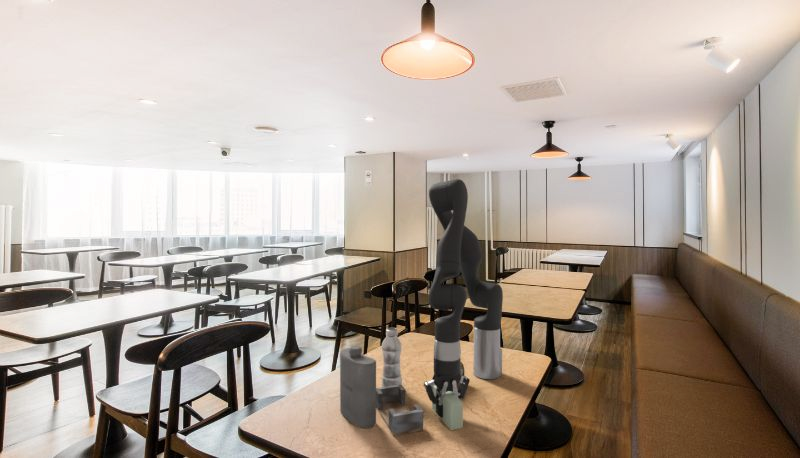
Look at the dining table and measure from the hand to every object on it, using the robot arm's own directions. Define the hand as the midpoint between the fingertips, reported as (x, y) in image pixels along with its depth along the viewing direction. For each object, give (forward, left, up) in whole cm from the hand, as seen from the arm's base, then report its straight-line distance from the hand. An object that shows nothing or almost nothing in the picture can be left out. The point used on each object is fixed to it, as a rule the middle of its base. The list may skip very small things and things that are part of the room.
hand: (446, 414), depth 109 cm
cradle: (+13, -5, -1) cm, 14 cm away
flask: (+24, -9, -1) cm, 26 cm away
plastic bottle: (+9, -22, -1) cm, 24 cm away
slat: (0, 0, -1) cm, 1 cm away
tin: (-9, -16, -1) cm, 18 cm away
